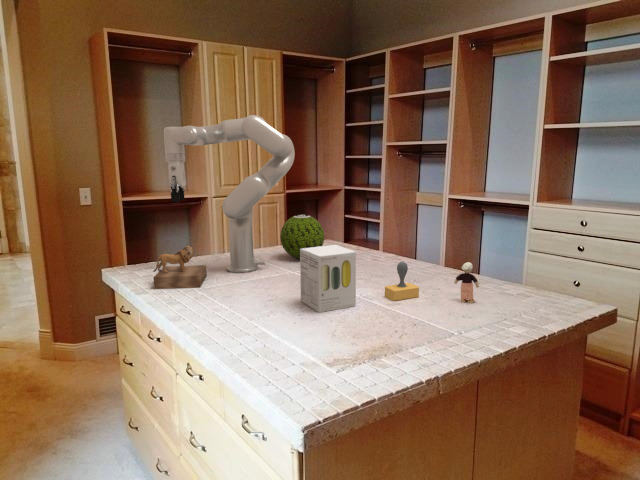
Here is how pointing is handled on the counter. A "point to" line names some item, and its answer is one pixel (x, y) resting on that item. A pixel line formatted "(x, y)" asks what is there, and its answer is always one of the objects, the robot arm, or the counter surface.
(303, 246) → the decorative ball
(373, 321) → the counter surface
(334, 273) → the supplement box
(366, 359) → the counter surface
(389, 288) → the rubber stamp
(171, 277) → the walnut block
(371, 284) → the counter surface
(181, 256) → the lion figurine
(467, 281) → the grandmother figurine
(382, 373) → the counter surface
